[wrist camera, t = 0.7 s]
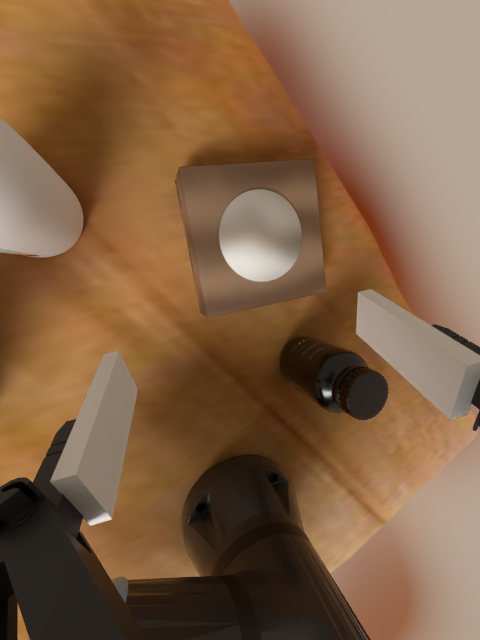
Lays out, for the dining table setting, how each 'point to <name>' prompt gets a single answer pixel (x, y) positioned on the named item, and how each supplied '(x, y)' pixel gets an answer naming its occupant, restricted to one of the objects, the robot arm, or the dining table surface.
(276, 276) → the walnut plinth
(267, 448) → the dining table surface
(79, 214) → the milk bottle
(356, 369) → the supplement bottle
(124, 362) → the robot arm
